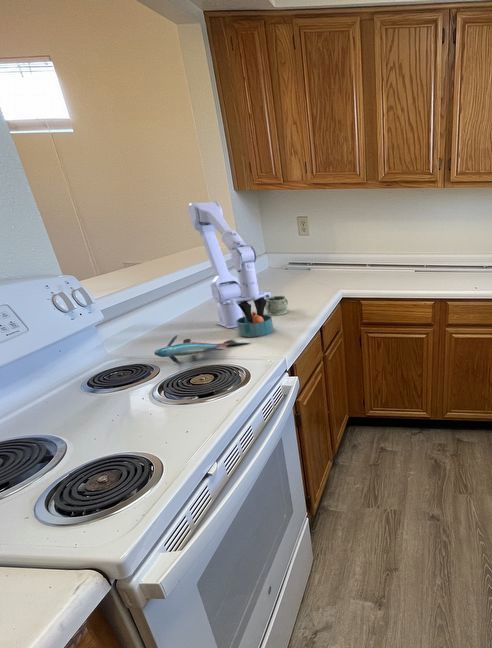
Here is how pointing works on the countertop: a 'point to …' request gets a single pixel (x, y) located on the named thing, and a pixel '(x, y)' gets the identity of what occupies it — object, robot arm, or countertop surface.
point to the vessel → (276, 305)
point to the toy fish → (256, 318)
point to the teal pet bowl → (254, 327)
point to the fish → (189, 348)
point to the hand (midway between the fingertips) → (255, 320)
